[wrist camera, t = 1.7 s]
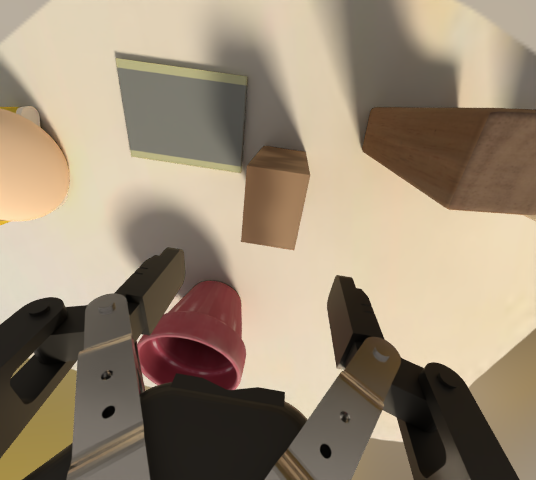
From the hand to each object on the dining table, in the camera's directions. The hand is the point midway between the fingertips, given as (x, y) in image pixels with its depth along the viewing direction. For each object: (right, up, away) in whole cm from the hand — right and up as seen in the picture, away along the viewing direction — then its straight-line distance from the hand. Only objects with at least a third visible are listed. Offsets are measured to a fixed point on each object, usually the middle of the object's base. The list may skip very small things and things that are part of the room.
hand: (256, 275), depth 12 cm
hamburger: (-29, +13, +19) cm, 37 cm away
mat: (-9, +16, +15) cm, 24 cm away
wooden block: (+16, +14, +14) cm, 25 cm away
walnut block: (+2, +10, +17) cm, 20 cm away
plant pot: (-9, -9, +29) cm, 32 cm away
